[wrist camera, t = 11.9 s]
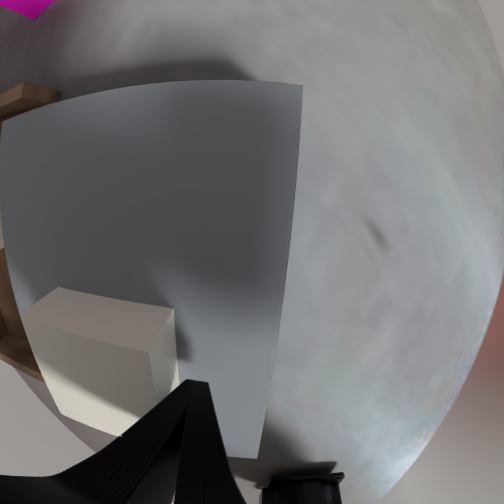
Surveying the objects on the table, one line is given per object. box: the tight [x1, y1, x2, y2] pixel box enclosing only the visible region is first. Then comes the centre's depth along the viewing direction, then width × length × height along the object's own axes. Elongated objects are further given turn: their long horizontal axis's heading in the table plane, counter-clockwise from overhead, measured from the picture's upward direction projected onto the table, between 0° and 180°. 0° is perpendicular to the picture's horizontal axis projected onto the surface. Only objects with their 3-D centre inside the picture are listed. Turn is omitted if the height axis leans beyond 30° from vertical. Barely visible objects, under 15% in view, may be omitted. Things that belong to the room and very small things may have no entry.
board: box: [0, 80, 303, 459], centre depth 11 cm, size 12×16×4 cm
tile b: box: [20, 287, 180, 436], centre depth 8 cm, size 5×5×2 cm
